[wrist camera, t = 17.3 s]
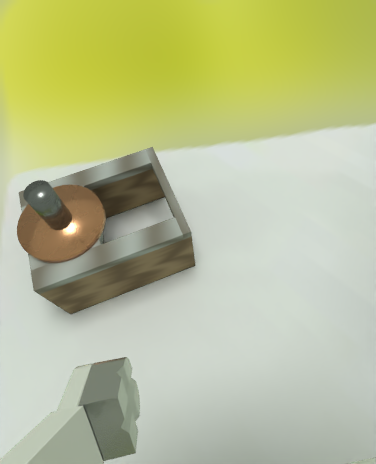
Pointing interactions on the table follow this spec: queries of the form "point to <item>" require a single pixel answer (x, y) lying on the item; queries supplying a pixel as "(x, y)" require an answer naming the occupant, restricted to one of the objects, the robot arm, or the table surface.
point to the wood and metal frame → (124, 248)
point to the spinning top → (60, 221)
